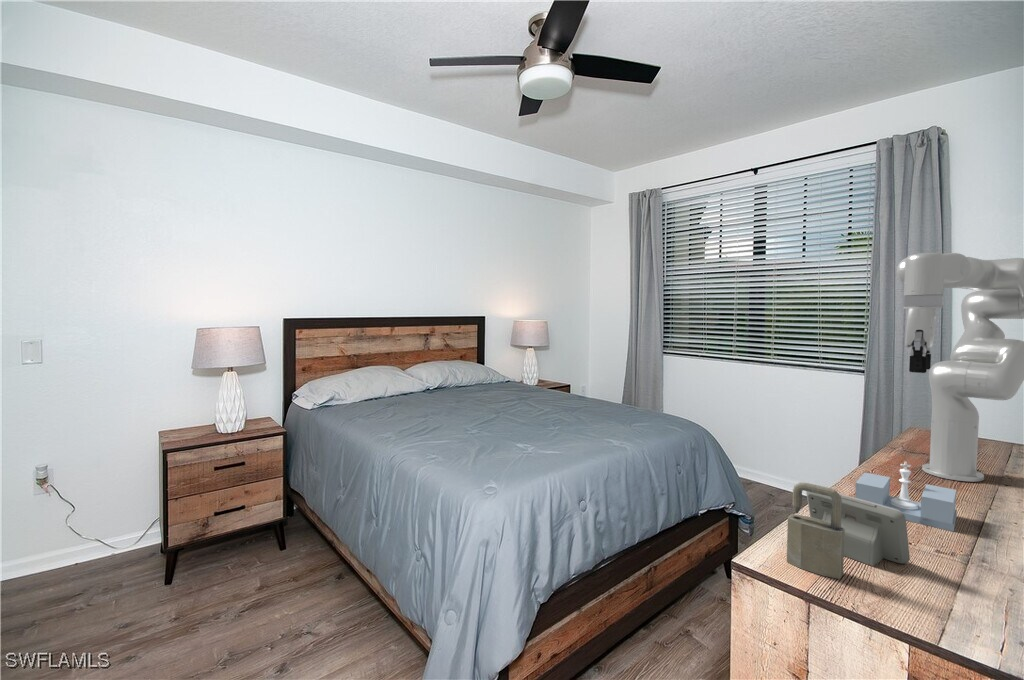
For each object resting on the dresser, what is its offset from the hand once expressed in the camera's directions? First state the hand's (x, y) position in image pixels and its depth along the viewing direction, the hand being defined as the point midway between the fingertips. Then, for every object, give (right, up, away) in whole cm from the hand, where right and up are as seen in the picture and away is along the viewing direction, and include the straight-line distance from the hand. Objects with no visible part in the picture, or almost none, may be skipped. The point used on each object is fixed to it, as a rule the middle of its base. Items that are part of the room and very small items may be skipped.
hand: (919, 370), depth 120 cm
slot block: (-15, -31, -13) cm, 37 cm away
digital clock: (-38, -33, -30) cm, 58 cm away
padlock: (-50, -33, -36) cm, 70 cm away
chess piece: (-15, -30, -13) cm, 36 cm away
